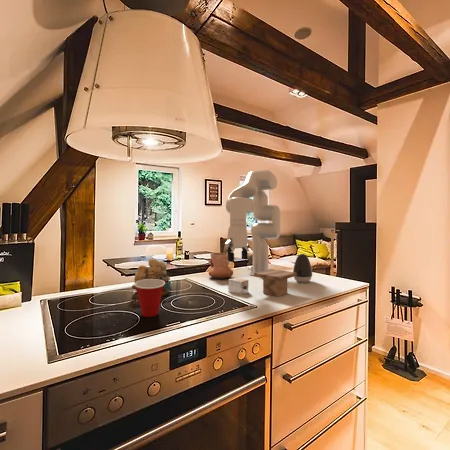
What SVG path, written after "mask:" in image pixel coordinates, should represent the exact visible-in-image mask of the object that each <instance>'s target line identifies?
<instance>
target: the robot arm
mask: <svg viewBox="0 0 450 450" xmlns="http://www.w3.org/2000/svg"><path fill="white" fill-rule="evenodd" d="M277 186H278V180H277V177H276V175H275V174H274V173H273V172H272V171H270V170H268V169H267V170H266V169H265V170H263V169H262V170H261V169H260V170H252V171H250V172H248V173H247V174H246V176H245V179H244V182H243V184H242V185H240V186H239V187H237V188H235V189H233V190H232V192H230V194H229V195H228V197H227V200H226V202H225V210H226V211H227V213H229V226H228V230H227V239H226V242H225V243H224V247H225V250H226V253H228V261H231V262H235V252H234V251H235V249H241V260H248V252H249V248H250V244H251V241H250V240H249V238H248V229H247V214H251V213H253V217H254V219H255V220H256V221H259V222H257V223H254V224H252V226H251V228H250V233H251V240H252V266H249V267H248V269H247V270H249V271H250V272H249V274H250V276H253V277H255V276H254V273H257V272H261V271H265V270H269V244H268V243H267V241H266V240H269V239H270V240H277V239H279V238H280V236H281V209H280V207H279V206H278V205H277V204H269V197H268V195H267V193H266V192H265V191H268V190H270V191H271V190H275V189H276V188H277ZM264 190H265V191H264ZM252 197H253V198H252ZM261 221H262V222H261ZM264 221H265V222H264ZM266 221H267V222H266Z"/></svg>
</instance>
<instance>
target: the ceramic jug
mask: <svg viewBox="0 0 450 450" xmlns="http://www.w3.org/2000/svg"><path fill="white" fill-rule="evenodd" d="M230 262H231V261H228V252H213V253H212V252H211V253H210V261H209V264H210V269H209V270H208V275H209V277H211V278H213V279H218V280H223V279H224V280H225V279H230V278H231V277H232V276H233V275H234V270H233V269H232V268H231V267H229V264H230Z"/></svg>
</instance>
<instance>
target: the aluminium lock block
mask: <svg viewBox="0 0 450 450" xmlns="http://www.w3.org/2000/svg"><path fill="white" fill-rule="evenodd" d="M227 279H228V292H229V293H231V294H236V295H245V294H248V293H249V280H248V279H244V278H238V277H233V278H227Z"/></svg>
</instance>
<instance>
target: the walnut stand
mask: <svg viewBox="0 0 450 450" xmlns="http://www.w3.org/2000/svg"><path fill="white" fill-rule="evenodd" d="M294 276H297V273H296V272H293V271H288V270H280V269H274V268H268V270H265V271H261V272H257V273H254V276H253V277H256V278H262V280H263V282H262V286H263V287H262V288H263V291H262V293H263V294H264V295H269V296H274V297H280V296H283V295H286V294H288V279H291V278H294Z"/></svg>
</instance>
